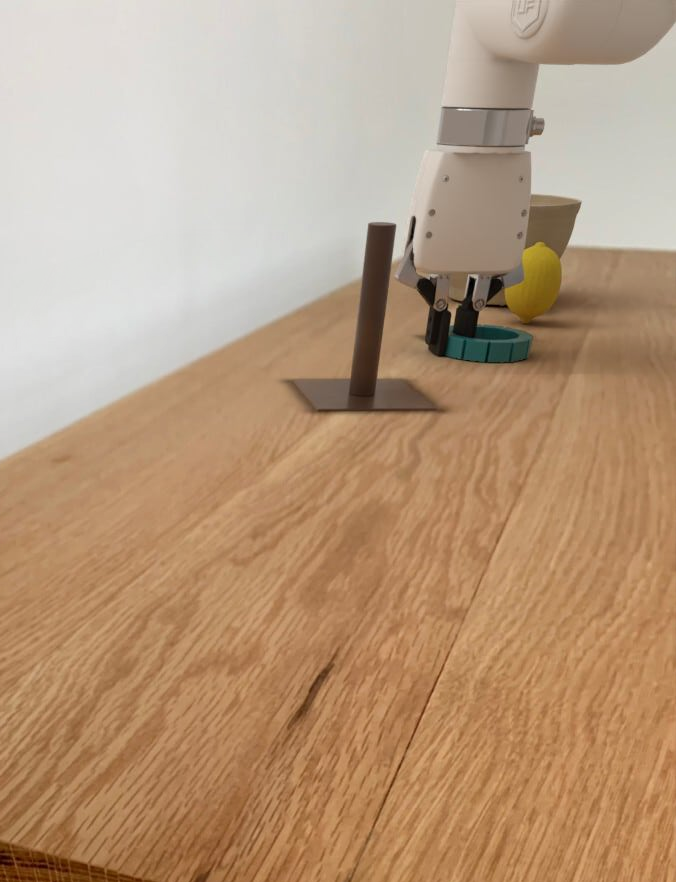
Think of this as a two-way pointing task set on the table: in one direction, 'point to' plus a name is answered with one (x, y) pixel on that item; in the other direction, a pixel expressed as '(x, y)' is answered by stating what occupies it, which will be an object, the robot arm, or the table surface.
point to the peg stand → (368, 343)
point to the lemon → (535, 283)
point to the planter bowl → (535, 235)
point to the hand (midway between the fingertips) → (447, 351)
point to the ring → (490, 344)
